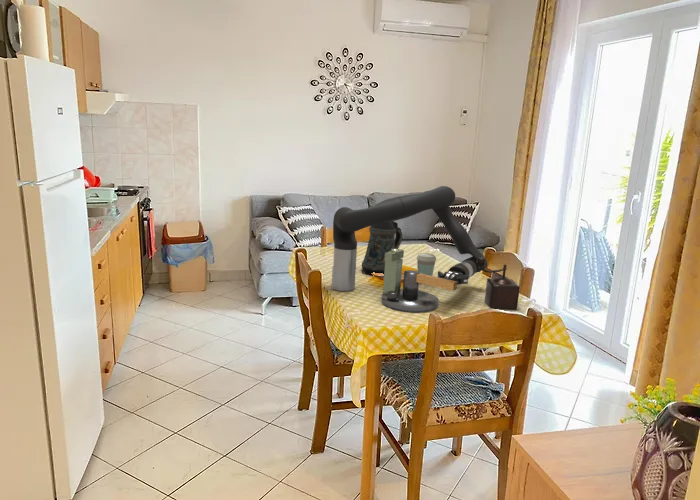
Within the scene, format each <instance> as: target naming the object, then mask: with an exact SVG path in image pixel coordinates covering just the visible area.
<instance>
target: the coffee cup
mask: <svg viewBox="0 0 700 500" xmlns="http://www.w3.org/2000/svg"><path fill="white" fill-rule="evenodd" d="M416 260H417V261H416V262H417V263H416V265H417V271H418V272H420V273H421V274H426V275H430V276H434V271H435V264H436V261H437V257H436V255H435V254H433V253H429V252H421V253H417V257H416Z"/></svg>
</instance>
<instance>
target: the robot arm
mask: <svg viewBox="0 0 700 500" xmlns="http://www.w3.org/2000/svg"><path fill="white" fill-rule="evenodd" d="M455 201H456V192H455V190H454V189H453V188H451V187H450V186H448V185H447V186H446V185H442V186H438V187H436V188H433V189H430V190H427V191H424V192H421V193H413V194H406V195H405V194H404V195H401V196H395V197H392V198H391V197H390V198H388V199H384V200H382V201H380V202H378V203H377V204H374V205H373V206H370V207H367V208H360V209H352V208H350V207H348V206H347V207H345V206H344V207H340V208H338V209H337V210H336V211H335V213H334V215H333V221H332V223H333V224H332V227H333V228H332V230H333V231H332V239H333V261H332V262H333V264H332V271H331V272H332V274H331V290H334V291H335V290H336V291H339V292H349V291H350V292H351V291H354V290H355V288H356V286H355V285H356V273H357V272H356V271H357V255H358V254H357V252H358V251H357V250H358V241H357V238H356V232H357V231H361V230H362V229H366V228H368V227H369V228H370V226H372V225H376V224H381V223H386V222H391V221H394V222H396V221H398V220H399V221H401V220H403V219H407V218H410V217H412V216H415V215H416V214H417V215H418V214H420V213H422V212H424V211H428V210H432V211H433V212H434V213H435V214H436V215H437V218H438V219H439V220H440V222H441V223H442V225H443V226H444V228H445V229H446V231H447V233H448V235H449V236H450V238H451V240H452V242H453V243H454V244H453V245H454V246H455V248H456V250H457V251H458V253H459V254H460V255H471V256H470V257H468V258H465V259H463V260H462V261H461V262H459V263H456V264H454V265H453V266H451V267H450V268H449V269H448V270H447V271H445V272H441V271H439V270H438V271H437V277H439V278H443V279H448V280H452V281H457V285H468V284H469V280H470V278H471V277H473V276H475V274H478V273H480V272H483V271H482V270H481V269H479V265H478V264H477V263H476V260H477V259H478V258H479V257H484V258H485V259H486V263H485V267H486V268H485V270H487V268H488V261H487V258H486V256H485V255H484V254H483V253H482V252H481V251H480V250H479V249H478V248H477V247H476V245H475V244H474V242H473V240H472V238H471V237H470V235H469V232H468V231H467V229H466V228H465V226H463V224H462V223H461V222H459V220H458V219H457V218H456V216H455V215H454V214H453V212H452V209H451V206H452V205H453V204H454V202H455Z"/></svg>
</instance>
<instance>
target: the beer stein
mask: <svg viewBox="0 0 700 500" xmlns="http://www.w3.org/2000/svg"><path fill="white" fill-rule="evenodd" d="M368 230H369V236H368V237H369V238H368V242H367V247H366V251H365V255H364V258H363V260H362V262H361V269H362V273H363V274H364V275H366V276H367V275H368V276H371V277H374V276H373V275H372V274H371V273H373V272H375V273H383V274H384V271H385V261H384V260H385V253H387V252H390V251H392V249H400V246H401V245H402V241H403V232H402V229H401V228H400V227H398V223H397V222H396V221H391V222H386V223H381V224H376V225H372V226H369V228H368Z"/></svg>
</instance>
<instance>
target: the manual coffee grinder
mask: <svg viewBox="0 0 700 500" xmlns="http://www.w3.org/2000/svg"><path fill="white" fill-rule="evenodd" d="M484 257H485V256H484ZM484 257H479V258H478V259H477V260H476V263H477V264H478V265H479V269H481V270H482V271H481V272H484V273H489V274H490V273H500V272H502V274H499V276H497V277H492V278H491V277H487V278H486V286H485V295H484V303H485V304H486V305H487V307H489V308H490V309H491V308H494V309H493V310H510V311H511V310H513V311H514V310H516V311H517V310H518V306H519V305H518V303H519V298H520V297H519V296H520V286H519V285H518V284H517V282H515V281H514V280H513V278H508V276H507V277H506V271H507V266H508V265H507V264H505V263H504V264H503V267H502V268H500V269H492V270H488V269H487V268H486V267H485V263H486V260H487V258H486V257H485V258H486V259H485V258H484ZM485 268H486V269H485Z"/></svg>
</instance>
